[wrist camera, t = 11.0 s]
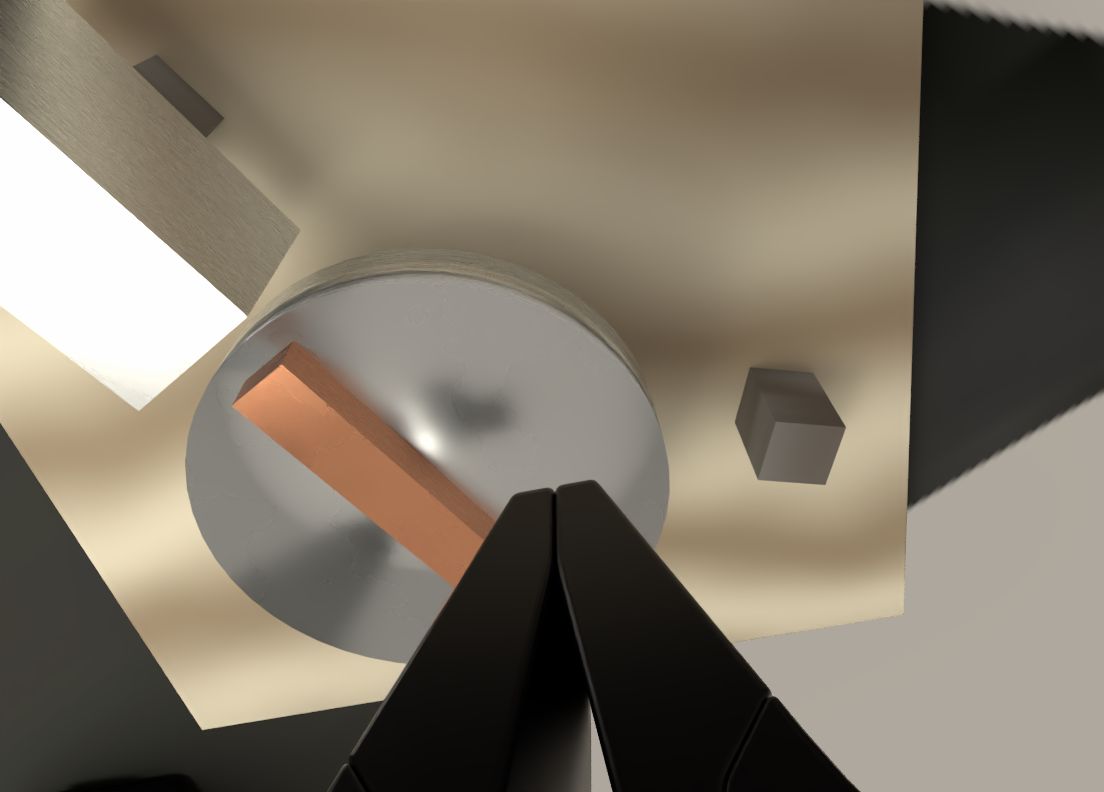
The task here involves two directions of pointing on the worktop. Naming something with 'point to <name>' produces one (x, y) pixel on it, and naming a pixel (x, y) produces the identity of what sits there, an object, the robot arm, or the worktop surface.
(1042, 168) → the worktop surface
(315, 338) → the grey piece
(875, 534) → the base plate
